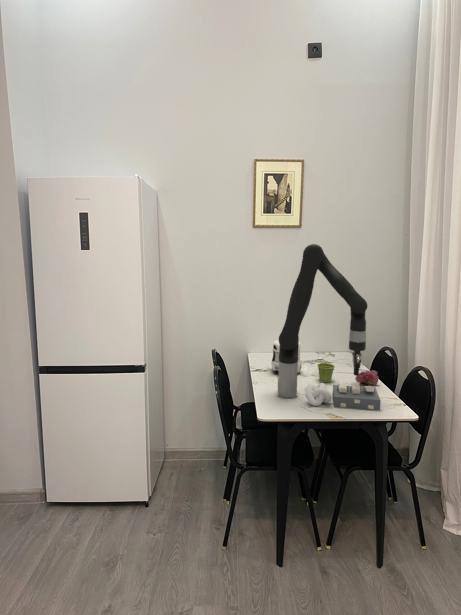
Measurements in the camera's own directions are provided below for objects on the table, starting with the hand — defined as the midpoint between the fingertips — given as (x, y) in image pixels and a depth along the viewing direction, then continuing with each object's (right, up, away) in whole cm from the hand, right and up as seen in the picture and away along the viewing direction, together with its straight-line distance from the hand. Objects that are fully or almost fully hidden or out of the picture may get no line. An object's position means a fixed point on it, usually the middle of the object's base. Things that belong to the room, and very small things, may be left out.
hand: (356, 375), depth 190 cm
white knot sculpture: (-19, -13, -1) cm, 23 cm away
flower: (+13, -9, +22) cm, 27 cm away
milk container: (-27, -6, +43) cm, 52 cm away
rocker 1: (-7, -6, 0) cm, 9 cm away
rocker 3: (+5, -6, -3) cm, 8 cm away
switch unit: (-1, -13, 0) cm, 13 cm away
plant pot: (-8, -8, +28) cm, 31 cm away
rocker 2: (-1, -6, -1) cm, 6 cm away
